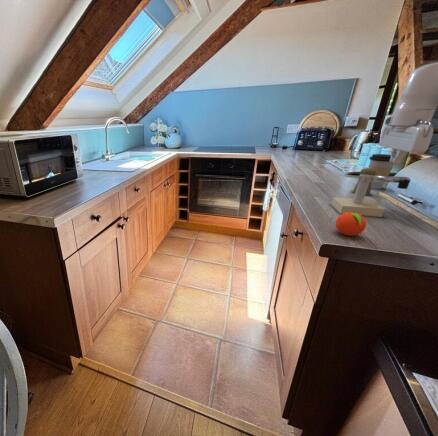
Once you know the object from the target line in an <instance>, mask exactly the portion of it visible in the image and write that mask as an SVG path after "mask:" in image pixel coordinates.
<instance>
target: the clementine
mask: <svg viewBox="0 0 438 436" xmlns="http://www.w3.org/2000/svg"><path fill="white" fill-rule="evenodd" d="M335 228H336V230H337V231H338V232H339V233H341V234H342V235H344V236H350V237H354V236H357V235H360V234H361V233H363V232H364V230H365V229H366V228H367V221H366V219H365V217H364V216H363V215H360V214H358V213H355V212H347V213H343V214H340V215H339V216H337V218H336V219H335Z"/></svg>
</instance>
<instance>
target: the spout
mask: <svg viewBox="0 0 438 436" xmlns="http://www.w3.org/2000/svg"><path fill="white" fill-rule="evenodd" d="M358 181H361V182H371V181H374V182H385V183H398V185H397V186H396V187H397V188H398V189H401V190H402V189H403V190H407V189H408V188H409V185H410V182H411V179H410V177H408V176H395V175H394V176H392V175H391V176H390V175H389V176H372V175H367V174H360V173H359V175H358V179H357V182H358Z"/></svg>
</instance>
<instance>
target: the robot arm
mask: <svg viewBox="0 0 438 436" xmlns="http://www.w3.org/2000/svg"><path fill="white" fill-rule="evenodd" d="M437 108H438V60H434V61H431V62H427V63H423V64H421V65H418V66H417V67H415V68H414V69H413V70H412V71H411V72H410V73H409V76H408V78H407V80H406V82H405V83H404V86H403V89H402V92H401V95H400V102H399V104H398V106H397V107H396V109H395V111H394V113H393V114H392V115H390V116H388V117H387V118H385V120H384V123H383V124H384V125H385V126H384V127H383V129H382V131H381V135H380V139H379V146H380V147H384V148H388V149H390V155H391V158H390V162H392V163H394V165H396V164H397V165H399V164H401V162H402V160H403V158H405V157H406V156H407V154H408V153H412V154H425V153H426V151H428V149H429V147H430V144H431V141H432V137H433V134H434V128H433V124H432V119H433V117H434V113H435V111H436V110H437Z"/></svg>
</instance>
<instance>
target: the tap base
mask: <svg viewBox="0 0 438 436" xmlns="http://www.w3.org/2000/svg"><path fill="white" fill-rule="evenodd" d="M368 185H369V182H361V181H359V183H358V186H357V189H356V192H355V194H354V195H353V198H348V197H332V200H331V203H330V205H331V207H333V208H334V209H335V210H336V211H337V212H338V213H339V214H340V215H341V214H343V213H347V212H355V213H358V214H360V215H361V216H363V217H364V216H366V217H376V218H382V217H383V214H384V212H385V210H386V209H385V208H384V207H382V206H381V205H379V204H378V203H377V202H375V201H374V200H372V199H366V195H365V194H366V191H367V188H368Z"/></svg>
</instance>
